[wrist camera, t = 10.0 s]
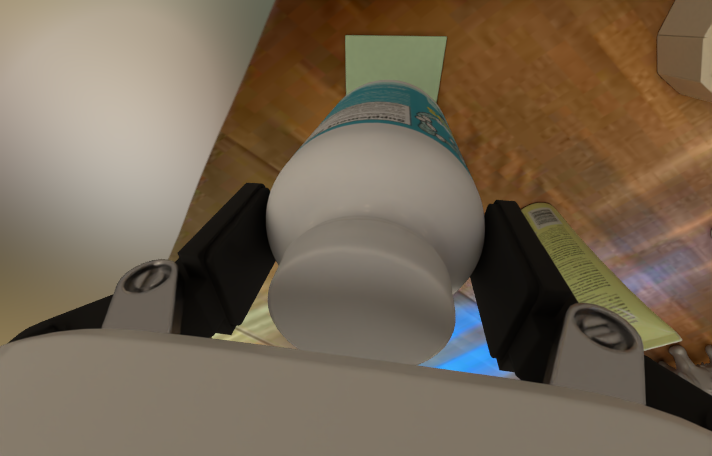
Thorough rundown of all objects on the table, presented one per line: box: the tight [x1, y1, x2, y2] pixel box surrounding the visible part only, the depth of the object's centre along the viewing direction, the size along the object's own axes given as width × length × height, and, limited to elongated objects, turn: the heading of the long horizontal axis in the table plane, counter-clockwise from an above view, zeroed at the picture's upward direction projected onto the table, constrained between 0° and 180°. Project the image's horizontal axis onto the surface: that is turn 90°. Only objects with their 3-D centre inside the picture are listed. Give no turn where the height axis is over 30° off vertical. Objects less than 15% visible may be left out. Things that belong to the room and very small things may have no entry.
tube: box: [521, 203, 682, 351], centre depth 30 cm, size 6×5×20 cm
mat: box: [345, 35, 447, 102], centre depth 31 cm, size 10×10×1 cm
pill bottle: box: [266, 80, 485, 365], centre depth 12 cm, size 8×7×14 cm
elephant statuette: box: [659, 345, 712, 395], centre depth 47 cm, size 9×12×8 cm
